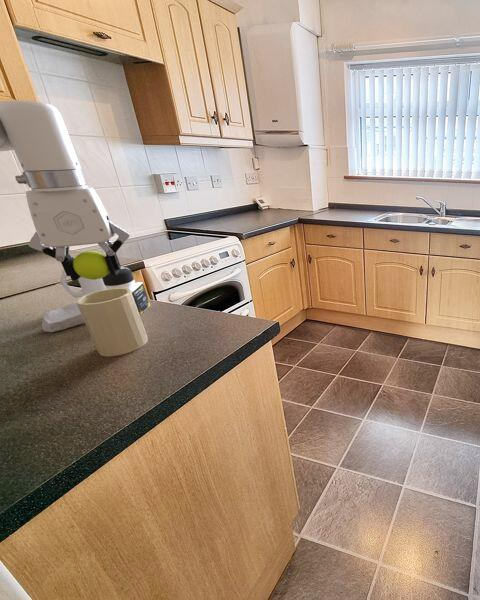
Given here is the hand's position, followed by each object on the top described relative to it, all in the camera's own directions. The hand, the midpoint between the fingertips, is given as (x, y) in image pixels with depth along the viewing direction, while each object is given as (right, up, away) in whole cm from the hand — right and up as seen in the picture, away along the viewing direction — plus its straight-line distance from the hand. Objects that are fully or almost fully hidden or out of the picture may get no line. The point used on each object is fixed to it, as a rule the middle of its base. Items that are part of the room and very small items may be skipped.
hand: (96, 275), depth 68 cm
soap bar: (-21, -11, +16) cm, 29 cm away
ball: (0, +2, -1) cm, 2 cm away
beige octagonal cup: (0, -15, +7) cm, 16 cm away
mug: (-25, -6, +28) cm, 38 cm away
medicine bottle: (-11, -9, +22) cm, 26 cm away
